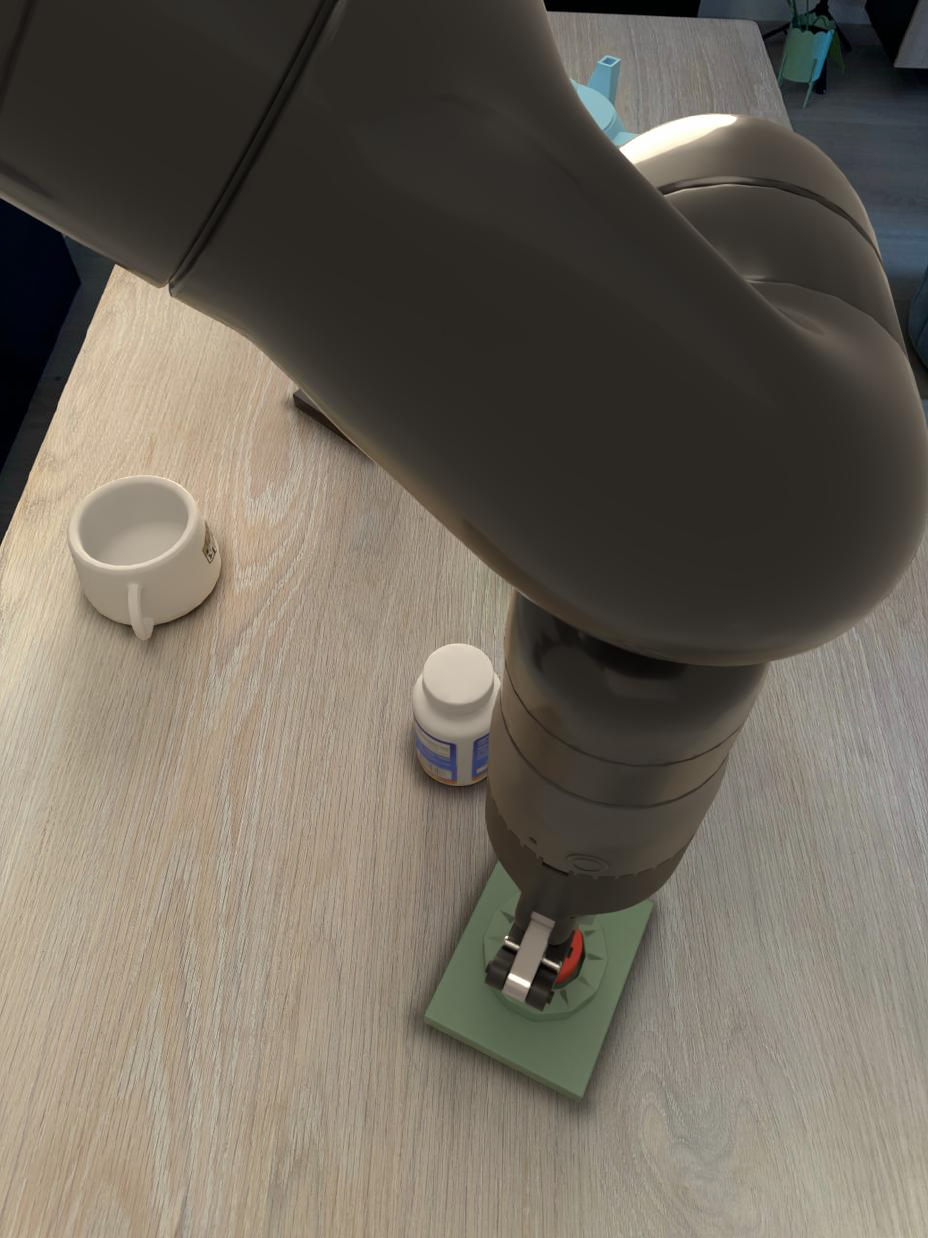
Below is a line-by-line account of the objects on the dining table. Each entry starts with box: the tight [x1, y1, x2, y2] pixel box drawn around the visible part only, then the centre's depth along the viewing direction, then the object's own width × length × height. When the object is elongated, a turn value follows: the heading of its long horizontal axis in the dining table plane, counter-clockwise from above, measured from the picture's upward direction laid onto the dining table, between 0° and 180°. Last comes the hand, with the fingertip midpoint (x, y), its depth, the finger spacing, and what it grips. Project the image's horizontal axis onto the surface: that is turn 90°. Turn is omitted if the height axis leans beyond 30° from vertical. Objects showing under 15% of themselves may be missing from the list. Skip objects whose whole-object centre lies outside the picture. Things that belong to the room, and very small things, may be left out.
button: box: [555, 928, 583, 984], centre depth 50 cm, size 4×4×2 cm
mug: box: [66, 474, 222, 641], centre depth 65 cm, size 12×10×6 cm
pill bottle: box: [411, 643, 501, 787], centre depth 56 cm, size 5×5×10 cm
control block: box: [423, 859, 655, 1103], centre depth 52 cm, size 11×9×4 cm
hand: (556, 919), depth 46 cm, fingers closed
